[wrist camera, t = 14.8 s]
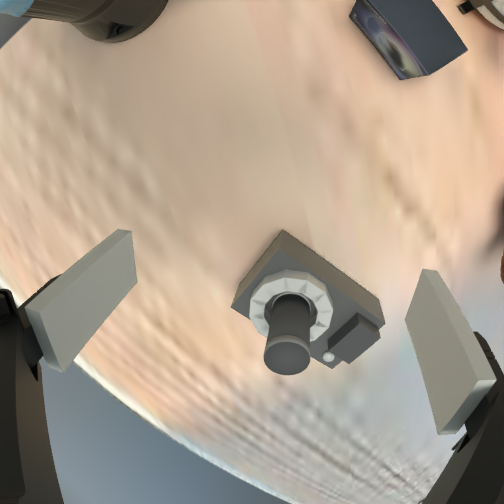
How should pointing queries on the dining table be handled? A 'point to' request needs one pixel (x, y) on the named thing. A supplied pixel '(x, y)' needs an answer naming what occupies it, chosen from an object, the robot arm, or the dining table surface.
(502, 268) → the brown clay mug
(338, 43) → the dining table surface
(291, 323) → the lens
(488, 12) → the coffee press
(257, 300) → the camera body
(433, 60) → the small box
